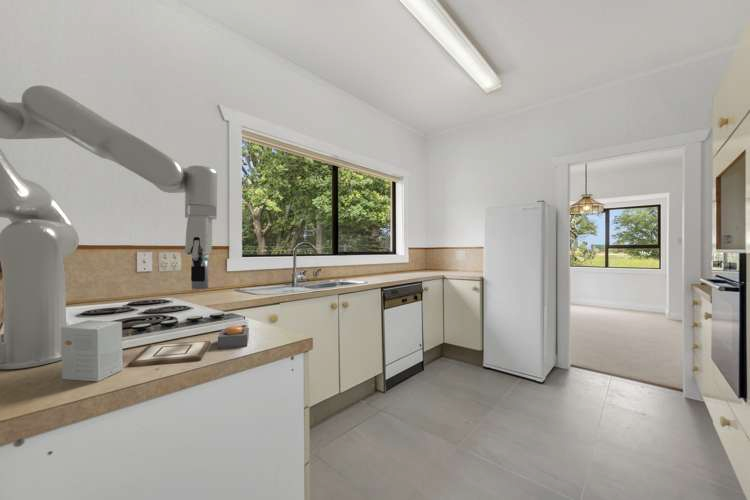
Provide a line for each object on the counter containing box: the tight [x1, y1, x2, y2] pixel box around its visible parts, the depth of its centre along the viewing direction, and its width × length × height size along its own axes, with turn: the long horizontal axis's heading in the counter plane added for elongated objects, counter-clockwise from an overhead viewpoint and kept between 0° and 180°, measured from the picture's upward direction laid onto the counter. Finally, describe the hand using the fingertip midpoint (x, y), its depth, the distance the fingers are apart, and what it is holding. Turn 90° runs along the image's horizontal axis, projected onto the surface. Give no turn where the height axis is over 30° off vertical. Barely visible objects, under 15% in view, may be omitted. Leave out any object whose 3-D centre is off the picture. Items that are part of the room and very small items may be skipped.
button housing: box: [217, 327, 250, 349], centre depth 85 cm, size 7×7×3 cm
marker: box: [191, 253, 210, 290], centre depth 85 cm, size 4×4×10 cm
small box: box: [60, 320, 124, 383], centre depth 63 cm, size 8×6×10 cm
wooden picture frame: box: [128, 340, 211, 367], centre depth 76 cm, size 14×12×1 cm
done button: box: [225, 325, 243, 335], centre depth 85 cm, size 4×4×2 cm
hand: (200, 279), depth 85 cm, fingers closed on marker, 4 cm apart
